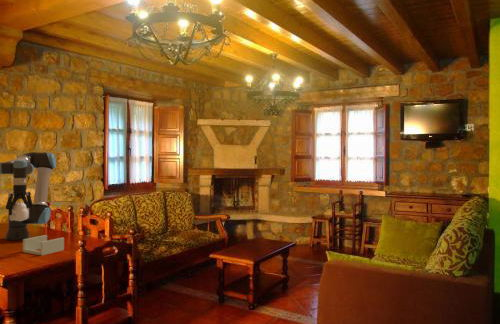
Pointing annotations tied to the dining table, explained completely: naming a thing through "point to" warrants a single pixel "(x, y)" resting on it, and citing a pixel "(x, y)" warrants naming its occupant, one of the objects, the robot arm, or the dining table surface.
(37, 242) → the beige open frame
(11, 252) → the dining table surface
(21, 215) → the figurine
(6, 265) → the dining table surface
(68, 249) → the dining table surface
